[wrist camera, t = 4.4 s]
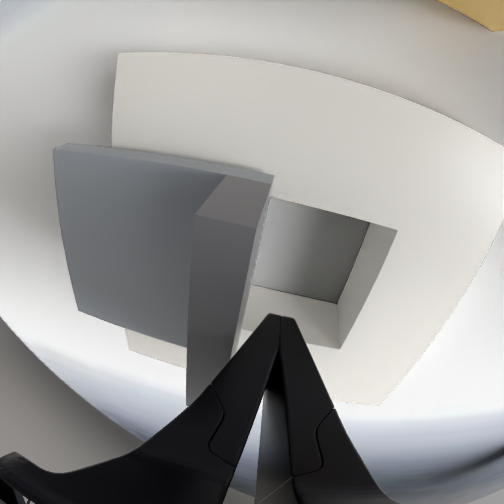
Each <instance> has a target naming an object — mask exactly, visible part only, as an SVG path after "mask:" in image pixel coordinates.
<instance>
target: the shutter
mask: <svg viewBox="0 0 504 504" xmlns="http://www.w3.org/2000/svg"><path fill="white" fill-rule="evenodd" d="M53 156H54V172H55V184H56V194H57V203H58V211H59V219H60V226H61V232H62V238H63V244H64V249H65V255H66V260H67V265H68V270H69V274H70V279H71V283H72V287H73V291H74V295H75V299H76V303H77V307H78V311H81V312H83V313H86V314H88V315H91V316H94V317H96V318H99V319H101V320H104V321H107V322H109V323H112V324H115V325H118V326H120V327H123V328H126V329H129V330H132V331H135V332H138V333H141V334H144V335H147V336H150V337H153V338H156V339H159V340H162V341H165V342H169V343H172V344H175V345H178V346H182V347H185V348H187V368H186V405H187V406H189V405H191V403H192V402H193V401H194V400H195V399H196V398H197V397H198V396H199V395H200V394H201V393H202V392H203V391H204V390H205V388H206V387H207V386H208V385H209V384H210V383H211V382H212V380H213V379H214V378H215V377H216V376H217V375H218V373H219V372H220V371H221V370H222V369H223V368H224V366H225V365H226V364H227V363H228V362H229V360H230V359H231V358H232V357H233V356H234V355H235V353H236V351H237V347H238V343H239V338H240V334H241V329H242V324H243V320H244V315H245V311H246V306H247V302H248V297H249V292H250V288H251V283H252V279H253V274H254V269H255V265H256V260H257V255H258V251H259V246H260V241H261V237H262V232H263V227H264V223H265V218H266V213H267V209H268V204H269V199H270V194H271V190H272V185H273V180H274V176H275V175H270V174H266V173H261V172H257V171H252V170H247V169H242V168H237V167H232V166H227V165H222V164H217V163H211V162H206V161H200V160H194V159H189V158H183V157H176V156H170V155H164V154H157V153H150V152H143V151H135V150H128V149H119V148H111V147H102V146H92V145H82V144H70V143H67V144H65V145H62V146H60V147H57V148H55V149H53Z"/></svg>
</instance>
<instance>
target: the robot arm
mask: <svg viewBox="0 0 504 504" xmlns="http://www.w3.org/2000/svg"><path fill="white" fill-rule="evenodd" d="M263 394H264V397H263ZM262 397H263V410H262V422H261V434H260V446H259V458H258V469H257V480H256V490H255V501H254V504H399V503H398V502H396V501H395V500H393V499H391V498H390V497H389V496H388V495H386V494H385V493H384V492H383V491H382V490H381V488H380V487H379V486H378V485H377V483H376V482H375V480H374V478H373V477H372V475H371V473H370V472H369V470H368V469H367V467H366V465H365V464H364V462H363V460H362V459H361V457H360V455H359V454H358V452H357V450H356V449H355V447H354V445H353V444H352V442H351V440H350V438H349V436H348V435H347V433H346V431H345V429H344V427H343V424H342V422H341V420H340V418H339V416H338V414H337V411H336V409H333V408H334V405H333V402H332V400H331V398H330V396H329V393H328V391H327V389H326V387H325V385H324V382H323V380H322V378H321V376H320V373H319V371H318V369H317V367H316V364H315V362H314V360H313V358H312V356H311V353H310V351H309V349H308V347H307V344H306V342H305V340H304V338H303V336H302V333H301V331H300V329H299V327H298V325H297V322H296V320H295V319H294V318H291V317H287V316H281V315H278V314H273V313H268V314H267V315H266V317H265V318H264V319H263V320H262V322H261V323H260V324H259V325H258V327H257V328H256V329H255V330H254V331H253V333H252V334H251V335H250V336H249V338H248V339H247V340H246V341H245V342H244V344H243V345H242V346H241V347H240V349H239V350H238V351H237V352H236V353H235V355H234V356H233V357H232V358H231V359H230V360H229V362H228V363H227V364H226V365H225V366H224V368H223V369H222V370H221V371H220V372H219V373H218V375H217V376H216V377H215V378H214V379H213V380H212V382H211V383H210V384H209V385H208V386H207V387H206V388H205V390H204V391H203V392H202V393H201V394H200V395H199V396H198V397H197V398H196V399H195V400H194V401H193V402H192V403H191V405H189V406H188V407H187V408H186V409H185V410H184V411H183V412H182V413H181V414H179V415H178V416H177V417H176V418H175V419H174V420H172V421H171V422H170V423H169V424H167V425H166V426H165V427H164V428H162V429H161V430H160V431H159V432H157V433H156V434H155V435H154V436H152V437H151V438H150V439H148V440H147V441H146V442H144V443H143V444H142V445H140V446H139V447H137V448H136V449H134V450H132V451H130V452H129V453H127V454H125V455H122V456H119V457H116V458H113V459H110V460H107V461H104V462H101V463H98V464H95V465H92V466H88V467H85V468H82V469H78V470H75V471H71V472H66V473H53V472H49V471H46V470H44V469H42V468H40V467H38V466H37V465H35V464H34V463H32V462H31V461H29V460H28V459H26V458H25V457H23V456H22V455H20V454H19V453H17V452H12V453H10V454H7V455H5V456H3V457H1V458H0V504H25V501H24V498H23V496H25V497H26V498H27V499H28V502H27V504H223V501H224V498H225V496H226V493H227V490H228V488H229V485H230V483H231V480H232V478H233V475H234V472H235V470H236V467H237V465H238V462H239V460H240V457H241V455H242V452H243V449H244V447H245V444H246V441H247V439H248V436H249V433H250V431H251V428H252V425H253V422H254V420H255V417H256V414H257V411H258V409H259V406H260V403H261V400H262Z"/></svg>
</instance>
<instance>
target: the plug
mask: <svg viewBox="0 0 504 504" xmlns="http://www.w3.org/2000/svg"><path fill="white" fill-rule="evenodd" d="M437 1H439V2H441V3H443V4H445V5H447V6H449V7H451V8H453V9H455V10H457V11H458V12H460V13H462V14H464V15H466V16H467V17H469V18H471V19H473V20H474V21H476V22H478V23H479V24H481V25H483V26H484V27H486V28H488V29H489V30H491V31H492V32H493V31H500V30H504V0H437Z"/></svg>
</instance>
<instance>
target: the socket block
mask: <svg viewBox="0 0 504 504" xmlns="http://www.w3.org/2000/svg"><path fill="white" fill-rule="evenodd" d="M111 148H119V149H128V150H135V151H143V152H150V153H157V154H164V155H170V156H176V157H183V158H189V159H194V160H200V161H206V162H211V163H217V164H222V165H227V166H232V167H237V168H242V169H247V170H252V171H257V172H261V173H266V174H270V175H275V176H274V180H273V185H272V190H271V194H270V197H273V198H277V199H281V200H285V201H290V202H294V203H298V204H302V205H306V206H310V207H314V208H318V209H322V210H326V211H330V212H334V213H338V214H342V215H345V216H349V217H353V218H357V219H360V220H364V221H367V222H370V225H369V228H368V230H367V233H366V235H365V238H364V241H363V243H362V246H361V248H360V251H359V253H358V256H357V258H356V261H355V263H354V266H353V268H352V271H351V273H350V275H349V278H348V280H347V282H346V285H345V287H344V289H343V292H342V294H341V296H340V299H339V301H338V303H337V304H334V303H329V302H325V301H320V300H316V299H311V298H307V297H302V296H298V295H293V294H289V293H285V292H280V291H276V290H272V289H267V288H263V287H259V286H255V285H251V288H250V292H249V297H248V302H247V306H246V311H245V315H244V320H243V324H242V329H241V334H240V338H239V343H238V347H237V351H238V350H239V349H240V347H241V346H242V345H243V344H244V342H245V341H246V340H247V339H248V338H249V336H250V335H251V334H252V333H253V331H254V330H255V329H256V328H257V327H258V325H259V324H260V323H261V322H262V320H263V319H264V318H265V317H266V315H267V314H268V313H273V314H278V315H281V316H287V317H291V318H294V319H295V320H296V322H297V325H298V327H299V329H300V331H301V333H302V336H303V338H304V340H305V342H306V344H307V347H308V349H309V351H310V353H311V356H312V358H313V360H314V362H315V364H316V367H317V369H318V371H319V373H320V376H321V378H322V380H323V382H324V385H325V387H326V389H327V391H328V393H329V396H330V398H331V400H334V401H342V402H350V403H359V404H368V405H380V404H381V403H382V402H383V401H384V400H385V399H386V398H387V397H388V396H389V394H390V393H391V392H392V391H393V390H394V389H395V388H396V387H397V385H398V384H399V383H400V382H401V381H402V380H403V378H404V377H405V376H406V375H407V374H408V372H409V371H410V370H411V369H412V367H413V366H414V365H415V364H416V362H417V361H418V360H419V359H420V357H421V356H422V355H423V353H424V352H425V351H426V349H427V348H428V347H429V345H430V344H431V343H432V341H433V340H434V339H435V337H436V336H437V334H438V333H439V332H440V330H441V329H442V327H443V326H444V324H445V323H446V321H447V320H448V318H449V317H450V315H451V314H452V312H453V311H454V309H455V308H456V306H457V305H458V303H459V301H460V300H461V298H462V297H463V295H464V293H465V292H466V290H467V288H468V287H469V285H470V283H471V282H472V280H473V278H474V276H475V275H476V273H477V271H478V269H479V267H480V266H481V264H482V262H483V260H484V258H485V256H486V254H487V252H488V250H489V248H490V246H491V244H492V242H493V240H494V238H495V236H496V234H497V232H498V230H499V228H500V225H501V223H502V221H503V219H504V146H502V145H500V144H498V143H497V142H495V141H493V140H492V139H490V138H488V137H486V136H484V135H483V134H481V133H479V132H477V131H475V130H473V129H471V128H469V127H467V126H465V125H463V124H461V123H459V122H457V121H455V120H453V119H451V118H449V117H447V116H445V115H443V114H440V113H438V112H436V111H434V110H431V109H429V108H427V107H424V106H422V105H420V104H417V103H415V102H412V101H410V100H407V99H404V98H402V97H399V96H396V95H394V94H391V93H388V92H385V91H382V90H380V89H377V88H374V87H370V86H367V85H364V84H361V83H358V82H354V81H351V80H348V79H344V78H340V77H337V76H333V75H329V74H325V73H321V72H317V71H313V70H309V69H304V68H300V67H295V66H290V65H285V64H279V63H274V62H268V61H262V60H255V59H248V58H241V57H233V56H223V55H213V54H200V53H182V52H124V53H118V60H117V68H116V77H115V88H114V100H113V115H112V139H111ZM125 330H126V336H127V341H128V346H129V350H131V351H134V352H137V353H139V354H142V355H145V356H148V357H151V358H154V359H157V360H160V361H163V362H166V363H170V364H173V365H176V366H179V367H183V368H187V348H185V347H182V346H178V345H175V344H172V343H169V342H165V341H162V340H159V339H156V338H153V337H150V336H147V335H144V334H141V333H138V332H135V331H132V330H129V329H126V328H125ZM237 351H236V352H237Z"/></svg>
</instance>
